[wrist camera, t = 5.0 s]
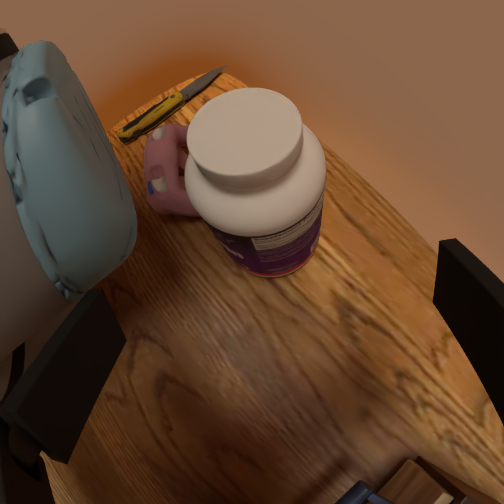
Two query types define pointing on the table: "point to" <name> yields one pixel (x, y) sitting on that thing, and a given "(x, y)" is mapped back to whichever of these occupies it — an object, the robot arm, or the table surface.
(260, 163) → the pill bottle
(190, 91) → the utility knife
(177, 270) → the table surface
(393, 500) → the drawer
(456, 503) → the cabinet
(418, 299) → the table surface
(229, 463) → the table surface
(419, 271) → the table surface
